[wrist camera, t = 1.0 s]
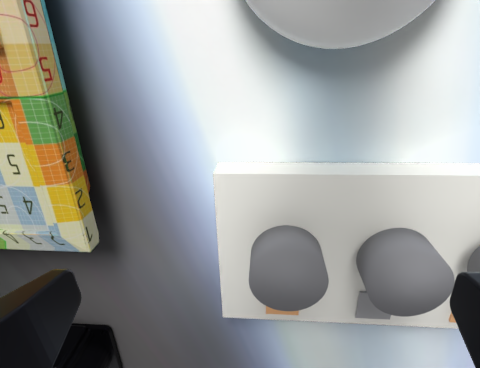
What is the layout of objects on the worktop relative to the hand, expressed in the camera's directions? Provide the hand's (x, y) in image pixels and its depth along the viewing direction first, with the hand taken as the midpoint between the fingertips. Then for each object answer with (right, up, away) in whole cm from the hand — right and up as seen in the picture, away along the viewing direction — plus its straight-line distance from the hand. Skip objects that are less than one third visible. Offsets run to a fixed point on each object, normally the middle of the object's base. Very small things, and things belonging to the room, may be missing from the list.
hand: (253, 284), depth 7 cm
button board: (+9, -2, +15) cm, 17 cm away
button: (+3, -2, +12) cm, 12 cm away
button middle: (+9, -2, +11) cm, 15 cm away
